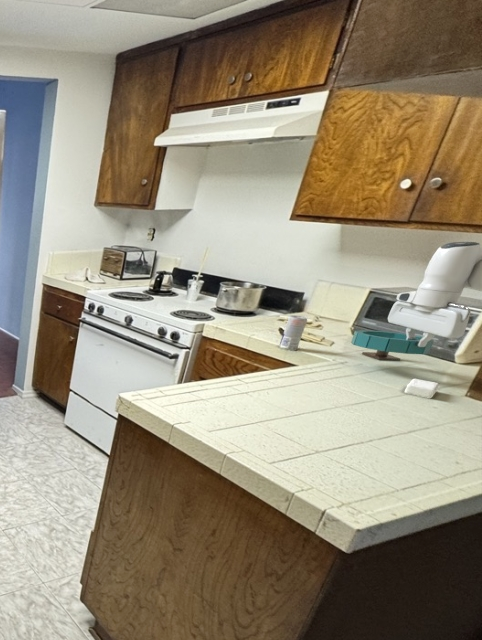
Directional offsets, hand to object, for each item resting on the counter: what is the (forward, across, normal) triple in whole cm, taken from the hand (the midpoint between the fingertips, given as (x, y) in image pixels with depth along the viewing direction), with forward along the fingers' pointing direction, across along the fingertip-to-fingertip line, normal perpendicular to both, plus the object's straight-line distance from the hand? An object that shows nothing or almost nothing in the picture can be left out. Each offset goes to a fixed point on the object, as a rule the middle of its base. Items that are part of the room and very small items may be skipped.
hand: (414, 344), depth 143 cm
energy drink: (+11, +30, +14) cm, 35 cm away
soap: (+11, -14, +7) cm, 19 cm away
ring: (+3, +8, 0) cm, 8 cm away
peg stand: (+10, +22, -12) cm, 27 cm away
